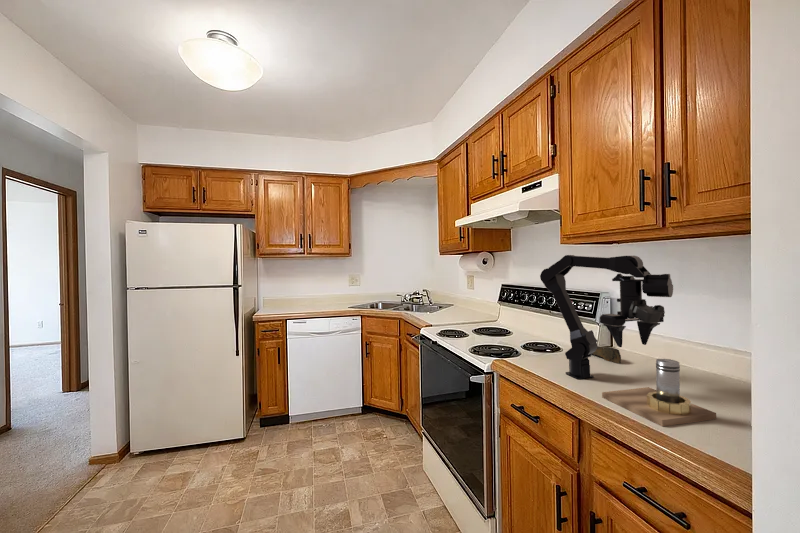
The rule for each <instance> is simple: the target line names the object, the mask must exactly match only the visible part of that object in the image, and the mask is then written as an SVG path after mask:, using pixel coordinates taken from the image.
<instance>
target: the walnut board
mask: <svg viewBox="0 0 800 533" xmlns="http://www.w3.org/2000/svg"><path fill="white" fill-rule="evenodd" d="M650 392H657V390H656V389H655V388H652V387H647V386H646V387H637V388H630V389H629V388H627V389H620V390H612V391H611V390H609V391H602V392H601V398H603V399H605V400H607V401H609V402H610V403H613V404H615V405H617V406H619V407H621V408H624V409H625V410H627V411H630V412H632V413H634V414H636V415H638V416H639V417H642V418H645V419H646V420H648V421H650V422H653V423H655V424H657V425H658V426H661V427H669V426H675V425H682V424H690V423H697V422H703V421H705V422H706V421H711V420H717V412H715V411H713V410H710V409H707V408H705V407H702V406H699V405H696V404H694V403H691V412H690V414H686V415H674V414H667V413H663V412H659V411H657V410H654V409H652V408H650V407H649V406H648V405H647V394H648V393H650Z"/></svg>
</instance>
